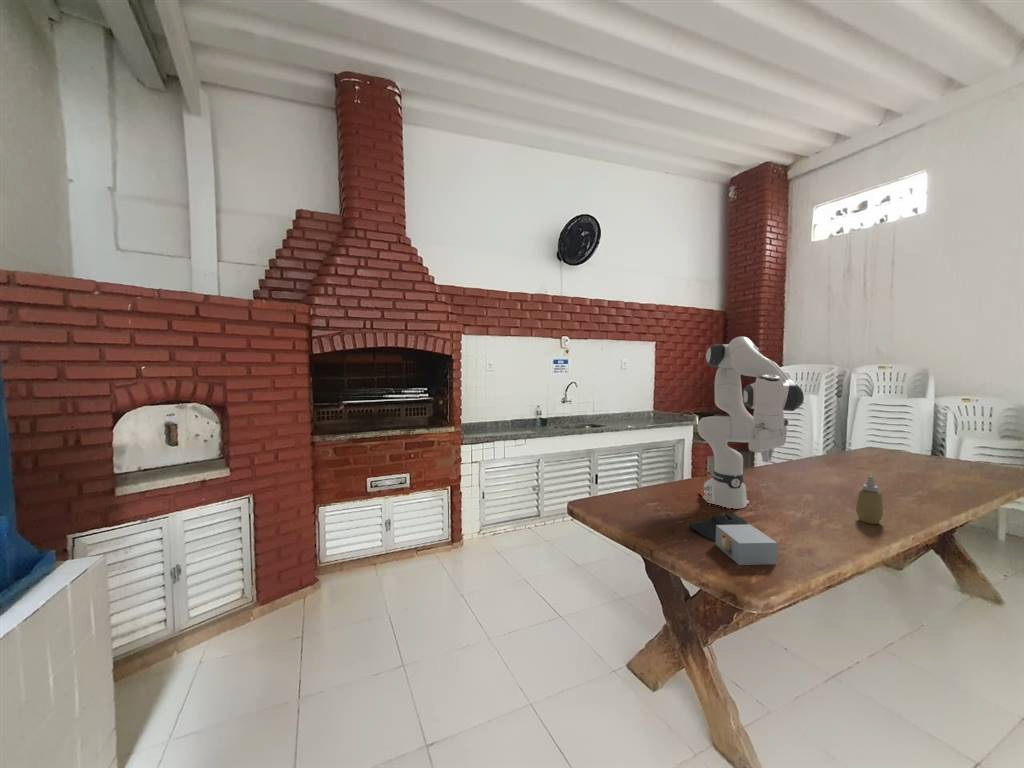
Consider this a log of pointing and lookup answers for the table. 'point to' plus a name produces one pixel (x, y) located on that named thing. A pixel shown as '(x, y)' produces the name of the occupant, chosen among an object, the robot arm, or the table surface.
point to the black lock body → (709, 526)
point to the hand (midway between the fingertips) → (766, 461)
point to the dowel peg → (726, 544)
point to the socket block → (747, 544)
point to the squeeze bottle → (869, 503)
